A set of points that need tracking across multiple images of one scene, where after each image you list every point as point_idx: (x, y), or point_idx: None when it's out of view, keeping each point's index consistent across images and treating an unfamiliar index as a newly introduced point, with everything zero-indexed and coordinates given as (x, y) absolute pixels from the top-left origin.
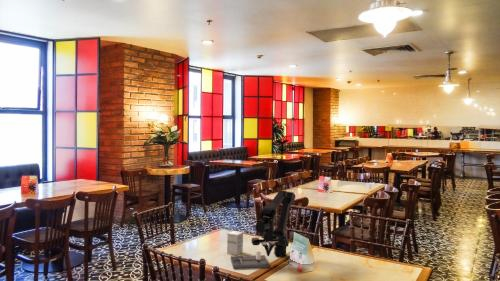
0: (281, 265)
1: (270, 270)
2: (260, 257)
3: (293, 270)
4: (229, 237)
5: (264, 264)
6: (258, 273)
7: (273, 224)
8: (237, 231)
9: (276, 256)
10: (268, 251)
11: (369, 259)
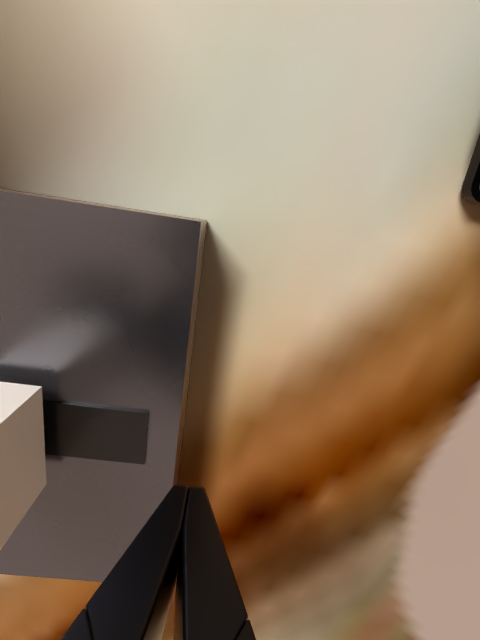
0: (341, 516)
1: None
2: (15, 525)
3: (390, 636)
4: None
5: (93, 574)
6: (12, 634)
7: None
8: None
9: (464, 191)
10: (176, 623)
11: None
